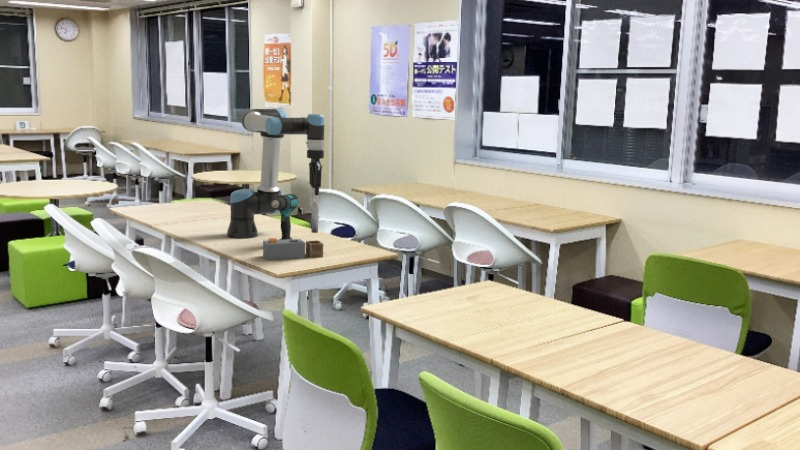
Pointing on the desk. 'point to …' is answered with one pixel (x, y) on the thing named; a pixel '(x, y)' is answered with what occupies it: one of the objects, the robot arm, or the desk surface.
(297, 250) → the socket block
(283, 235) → the power drill
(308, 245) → the hollow brown square tube
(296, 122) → the robot arm
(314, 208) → the cylinder
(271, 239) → the plunger
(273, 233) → the desk surface
